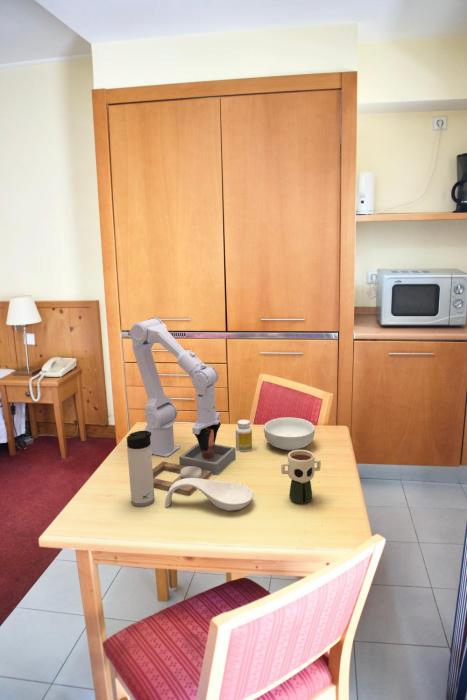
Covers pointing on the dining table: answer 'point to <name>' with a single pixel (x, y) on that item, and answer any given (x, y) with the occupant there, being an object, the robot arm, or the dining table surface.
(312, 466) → the character mug
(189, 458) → the tray
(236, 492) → the spoon rest
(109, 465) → the dining table surface
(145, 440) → the travel mug
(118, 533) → the dining table surface
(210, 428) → the reddish brown cylinder
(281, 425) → the cereal bowl
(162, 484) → the brown flat wooden frame
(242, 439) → the supplement bottle
